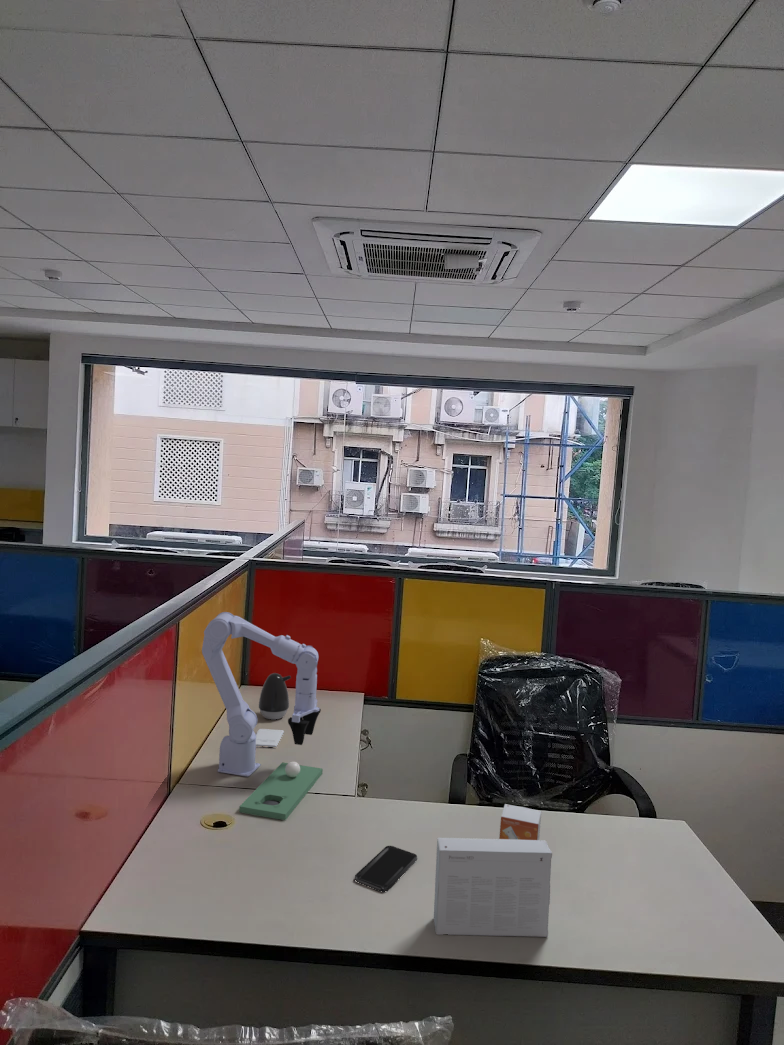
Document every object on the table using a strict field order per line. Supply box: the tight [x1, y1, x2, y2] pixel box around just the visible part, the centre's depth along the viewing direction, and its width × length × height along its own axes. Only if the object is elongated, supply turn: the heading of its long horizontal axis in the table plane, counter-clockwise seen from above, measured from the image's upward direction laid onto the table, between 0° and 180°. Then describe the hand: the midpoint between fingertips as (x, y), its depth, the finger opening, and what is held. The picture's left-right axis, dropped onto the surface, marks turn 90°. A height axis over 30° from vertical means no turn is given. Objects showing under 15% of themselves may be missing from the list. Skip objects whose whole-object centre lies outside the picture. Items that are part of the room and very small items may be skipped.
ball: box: [285, 761, 300, 777], centre depth 180 cm, size 4×4×4 cm
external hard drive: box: [255, 728, 285, 748], centre depth 208 cm, size 2×8×12 cm
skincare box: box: [433, 837, 553, 938], centre depth 125 cm, size 21×6×16 cm, turn 92°
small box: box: [498, 803, 542, 840], centre depth 144 cm, size 8×6×13 cm
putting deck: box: [238, 762, 324, 821], centre depth 175 cm, size 12×27×2 cm, turn 167°
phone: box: [354, 845, 418, 893], centre depth 142 cm, size 8×1×15 cm
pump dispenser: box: [258, 672, 292, 721], centre depth 228 cm, size 10×10×15 cm
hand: (303, 739), depth 187 cm, fingers open, 7 cm apart
